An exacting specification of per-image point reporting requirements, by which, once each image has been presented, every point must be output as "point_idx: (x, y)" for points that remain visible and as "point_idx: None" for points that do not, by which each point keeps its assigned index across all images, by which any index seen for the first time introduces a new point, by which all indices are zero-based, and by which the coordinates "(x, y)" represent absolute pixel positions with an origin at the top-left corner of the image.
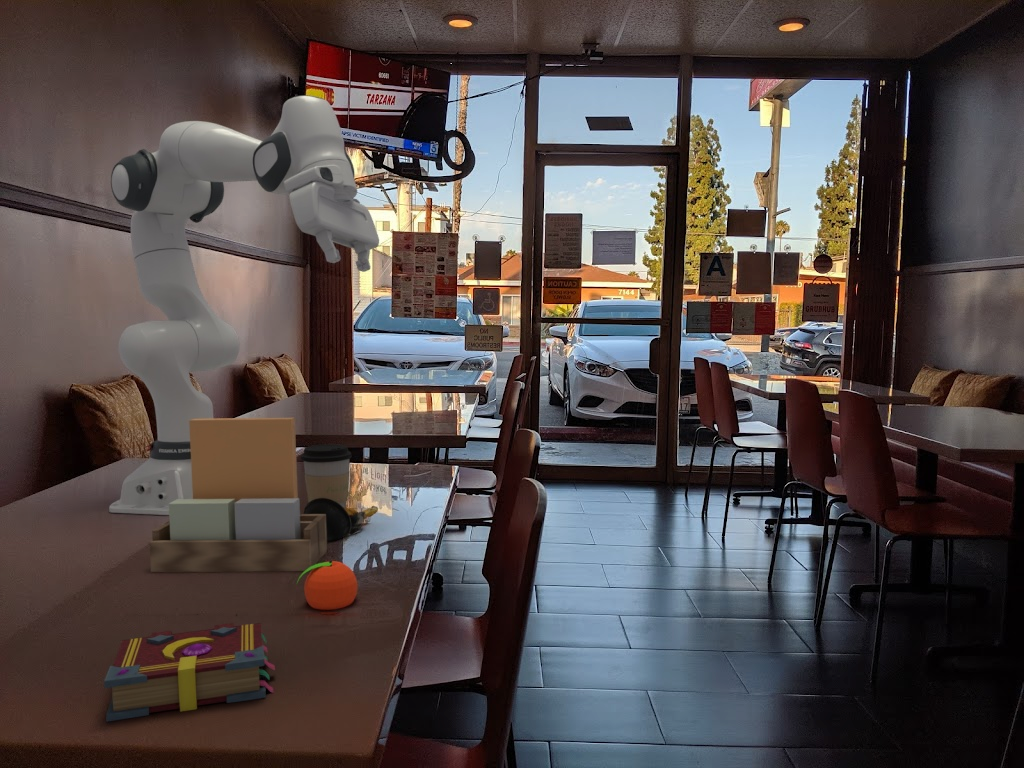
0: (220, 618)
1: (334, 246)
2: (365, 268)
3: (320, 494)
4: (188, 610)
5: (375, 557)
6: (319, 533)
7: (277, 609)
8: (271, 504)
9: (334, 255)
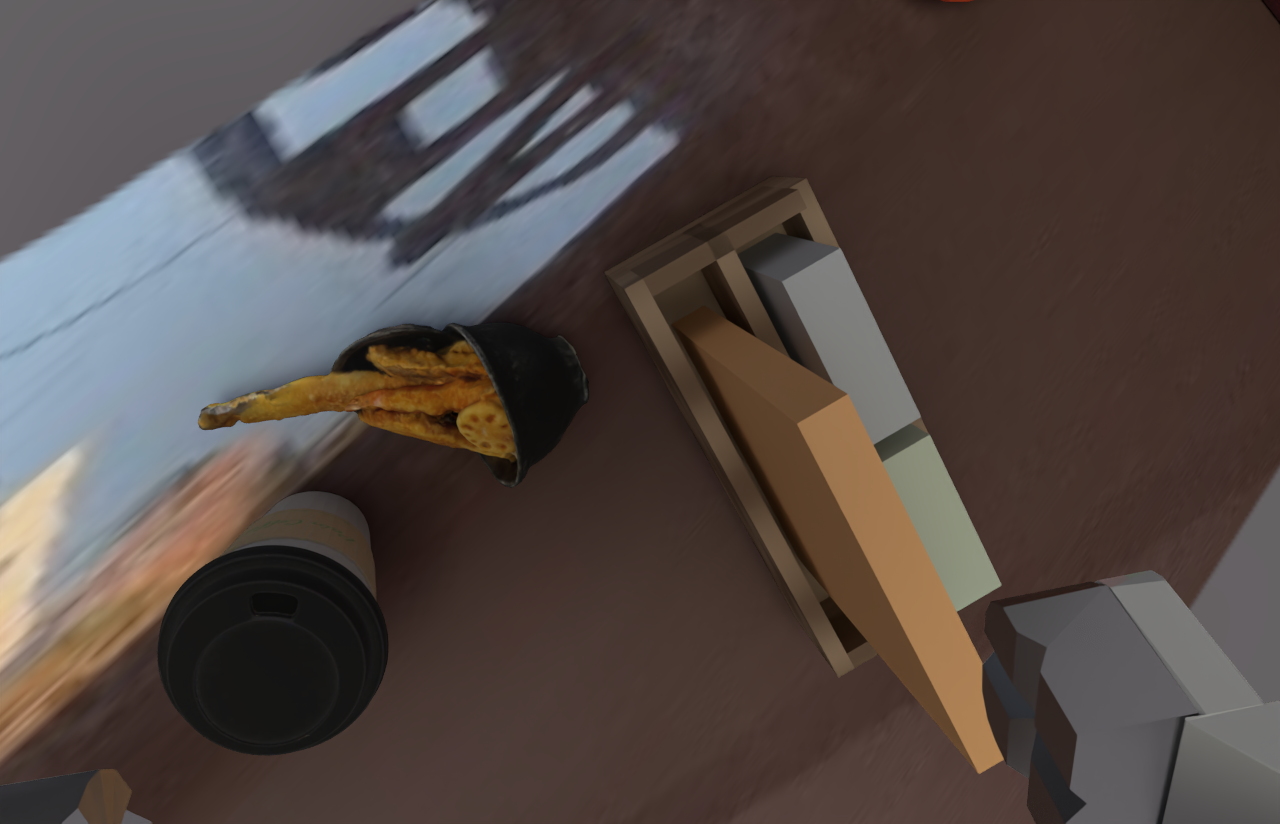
0: (1059, 169)
1: (1239, 748)
2: (100, 775)
3: (369, 557)
4: (1050, 279)
5: (515, 152)
6: (695, 240)
7: (967, 90)
8: (869, 312)
9: (1177, 611)
